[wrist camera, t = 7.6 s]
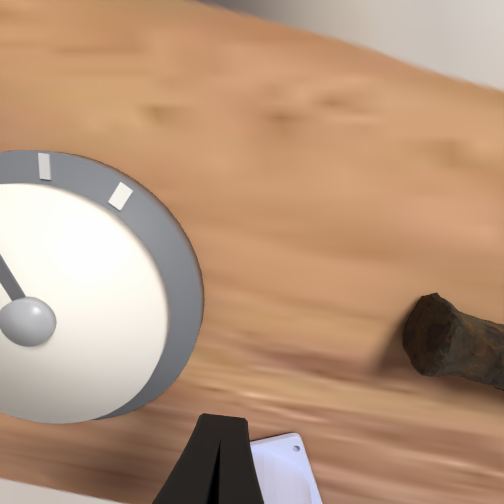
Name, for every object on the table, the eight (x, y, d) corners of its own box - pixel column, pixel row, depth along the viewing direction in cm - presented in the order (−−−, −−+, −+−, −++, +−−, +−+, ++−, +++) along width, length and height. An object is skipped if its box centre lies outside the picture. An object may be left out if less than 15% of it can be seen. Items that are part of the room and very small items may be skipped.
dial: (207, 369, 17) (190, 436, 13) (13, 427, 19) (-58, 504, 14) (101, 142, 14) (32, 132, 10) (-125, 234, 15) (-269, 260, 11)
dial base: (239, 370, 19) (237, 388, 18) (19, 424, 21) (0, 445, 19) (142, 109, 15) (129, 103, 14) (-123, 202, 17) (-161, 206, 15)
